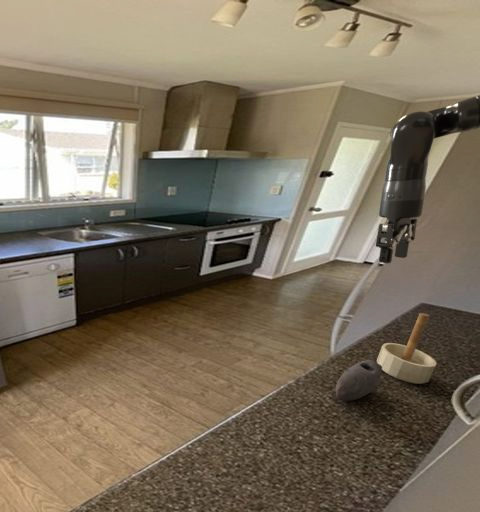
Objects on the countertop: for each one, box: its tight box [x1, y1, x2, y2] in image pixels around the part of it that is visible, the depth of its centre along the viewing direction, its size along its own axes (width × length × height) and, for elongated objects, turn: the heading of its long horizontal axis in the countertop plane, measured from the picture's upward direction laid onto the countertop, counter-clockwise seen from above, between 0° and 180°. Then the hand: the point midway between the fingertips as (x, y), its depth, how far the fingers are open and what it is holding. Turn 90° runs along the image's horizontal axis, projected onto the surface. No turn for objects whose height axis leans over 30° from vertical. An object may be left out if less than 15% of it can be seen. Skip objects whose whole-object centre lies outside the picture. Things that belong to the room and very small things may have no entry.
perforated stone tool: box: [335, 359, 383, 402], centre depth 67 cm, size 15×5×7 cm, turn 114°
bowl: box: [376, 342, 438, 385], centre depth 74 cm, size 10×10×6 cm
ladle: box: [401, 312, 430, 362], centre depth 72 cm, size 4×2×16 cm, turn 125°
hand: (392, 259), depth 76 cm, fingers open, 8 cm apart
